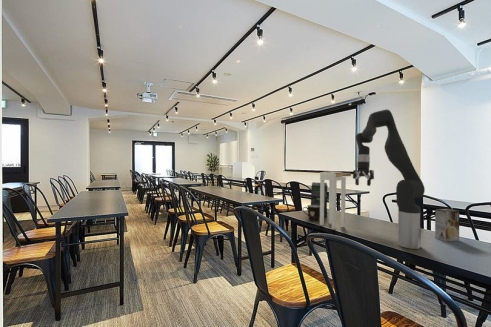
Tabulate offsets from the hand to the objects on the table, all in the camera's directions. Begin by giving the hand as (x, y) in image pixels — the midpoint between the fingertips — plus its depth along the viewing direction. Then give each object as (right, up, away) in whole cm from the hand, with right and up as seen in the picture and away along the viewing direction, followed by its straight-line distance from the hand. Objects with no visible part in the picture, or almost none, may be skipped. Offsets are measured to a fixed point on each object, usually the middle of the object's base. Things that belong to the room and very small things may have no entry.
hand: (362, 185), depth 171 cm
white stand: (-24, -26, -8) cm, 36 cm away
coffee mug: (-32, -25, +9) cm, 42 cm away
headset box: (-22, -25, +28) cm, 43 cm away
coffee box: (+30, -27, -33) cm, 52 cm away
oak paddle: (-18, +6, -6) cm, 20 cm away
